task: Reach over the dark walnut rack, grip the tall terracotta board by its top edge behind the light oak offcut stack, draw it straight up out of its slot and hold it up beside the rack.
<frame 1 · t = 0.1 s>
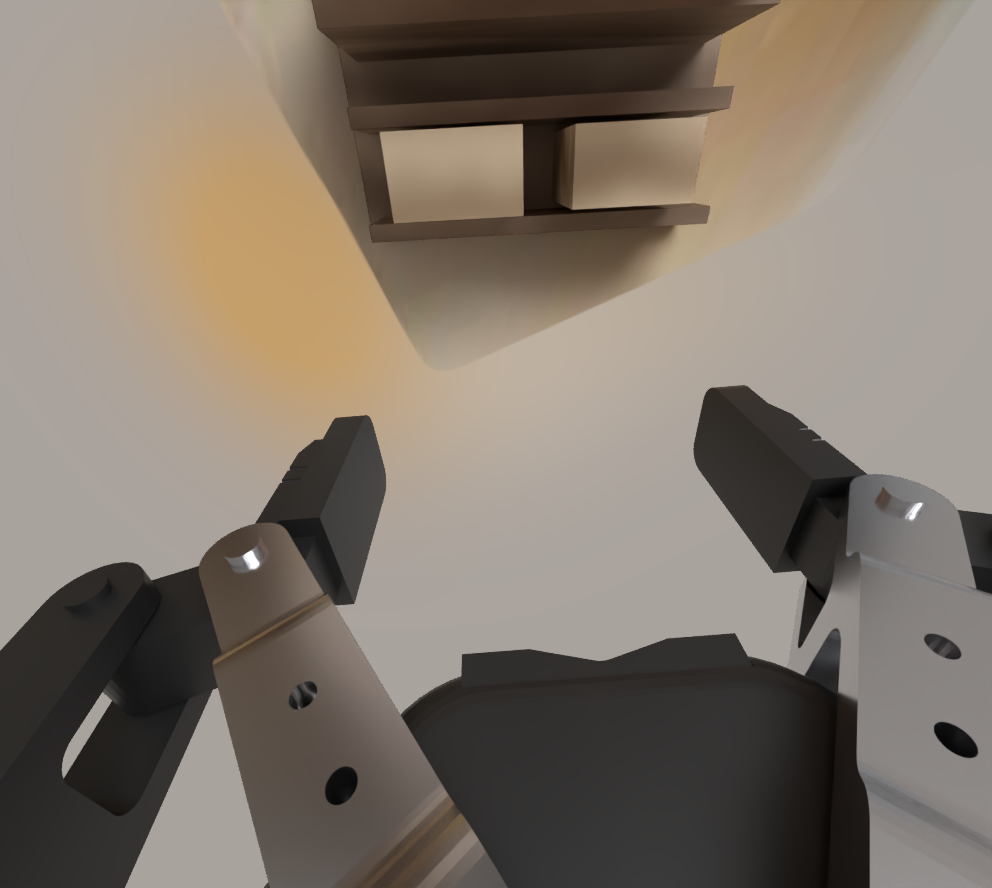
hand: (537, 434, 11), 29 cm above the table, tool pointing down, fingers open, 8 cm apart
offcut stack: (531, 169, 31), point 2 cm above the table, touching walnut rack
walnut rack: (528, 91, 30), on the table
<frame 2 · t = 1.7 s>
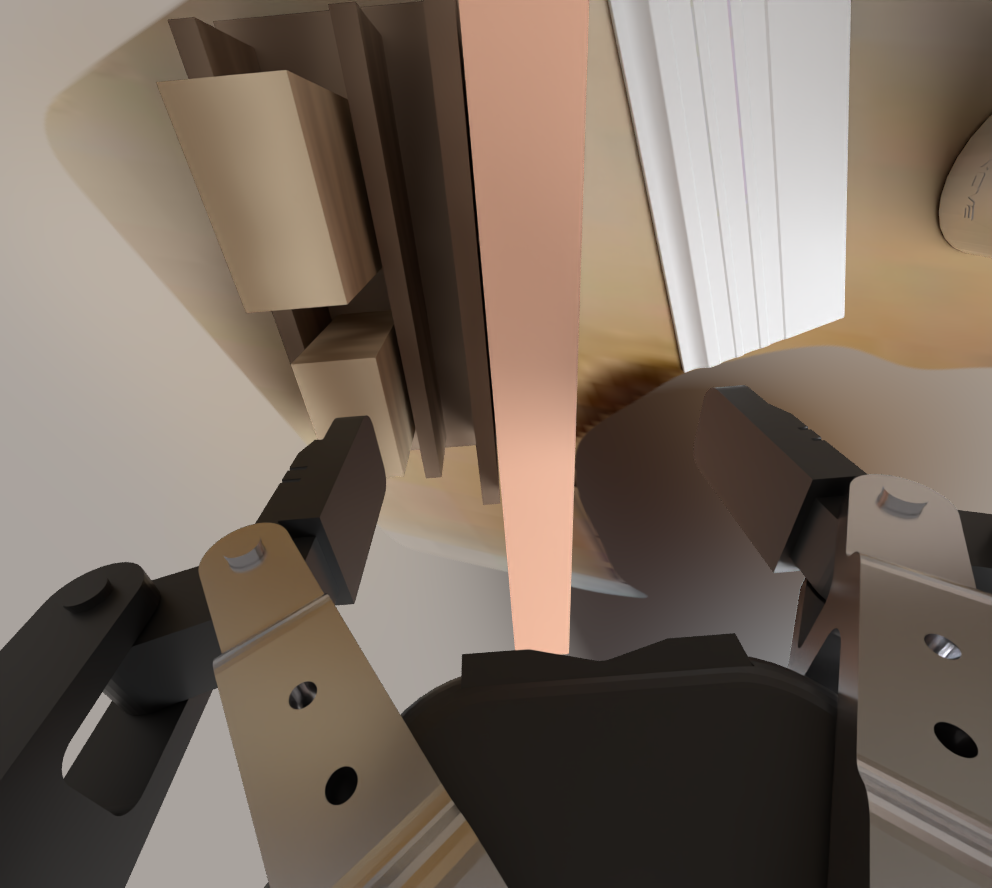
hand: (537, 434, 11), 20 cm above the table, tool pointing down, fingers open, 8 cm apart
offcut stack: (364, 286, 26), point 2 cm above the table, touching walnut rack
terracotta board: (504, 275, 26), point 2 cm above the table, touching walnut rack
baseboard molding: (711, 94, 24), on the table
walnut rack: (440, 273, 28), on the table
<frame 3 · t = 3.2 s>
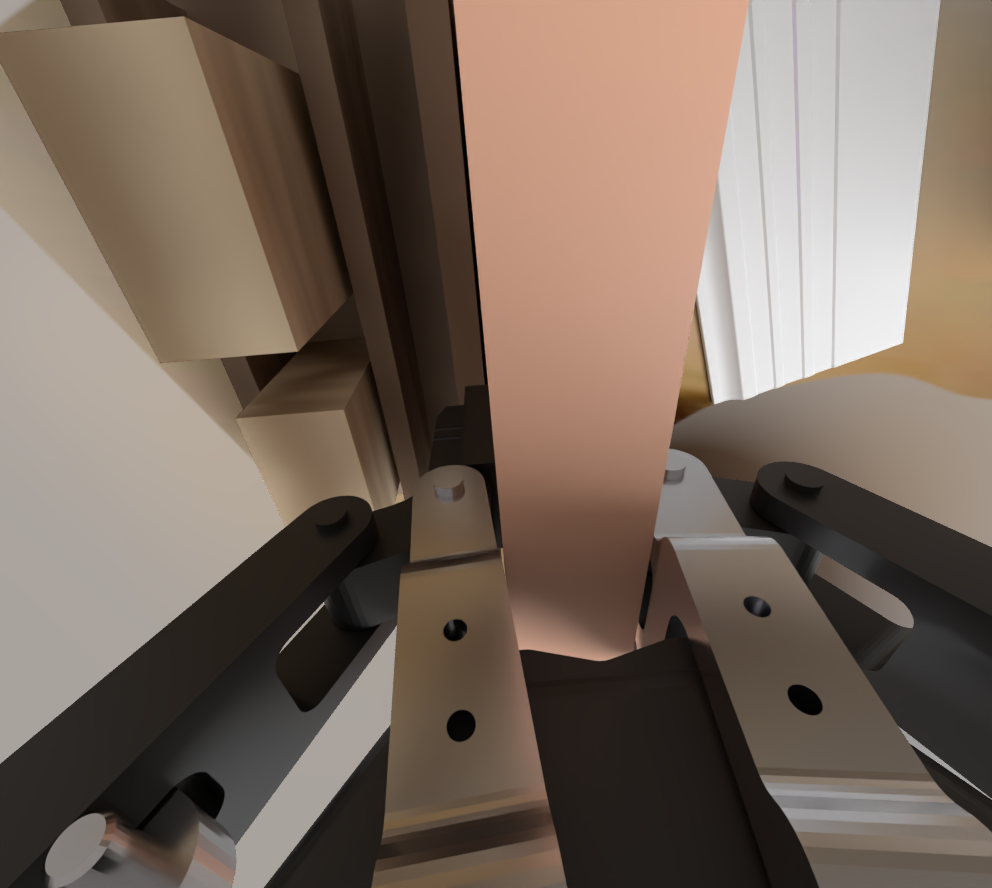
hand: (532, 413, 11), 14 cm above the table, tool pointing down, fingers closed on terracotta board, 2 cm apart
offcut stack: (337, 310, 22), point 2 cm above the table, touching walnut rack
terracotta board: (506, 296, 22), point 2 cm above the table, touching gripper, walnut rack
baseboard molding: (760, 77, 19), on the table
walnut rack: (430, 292, 23), on the table
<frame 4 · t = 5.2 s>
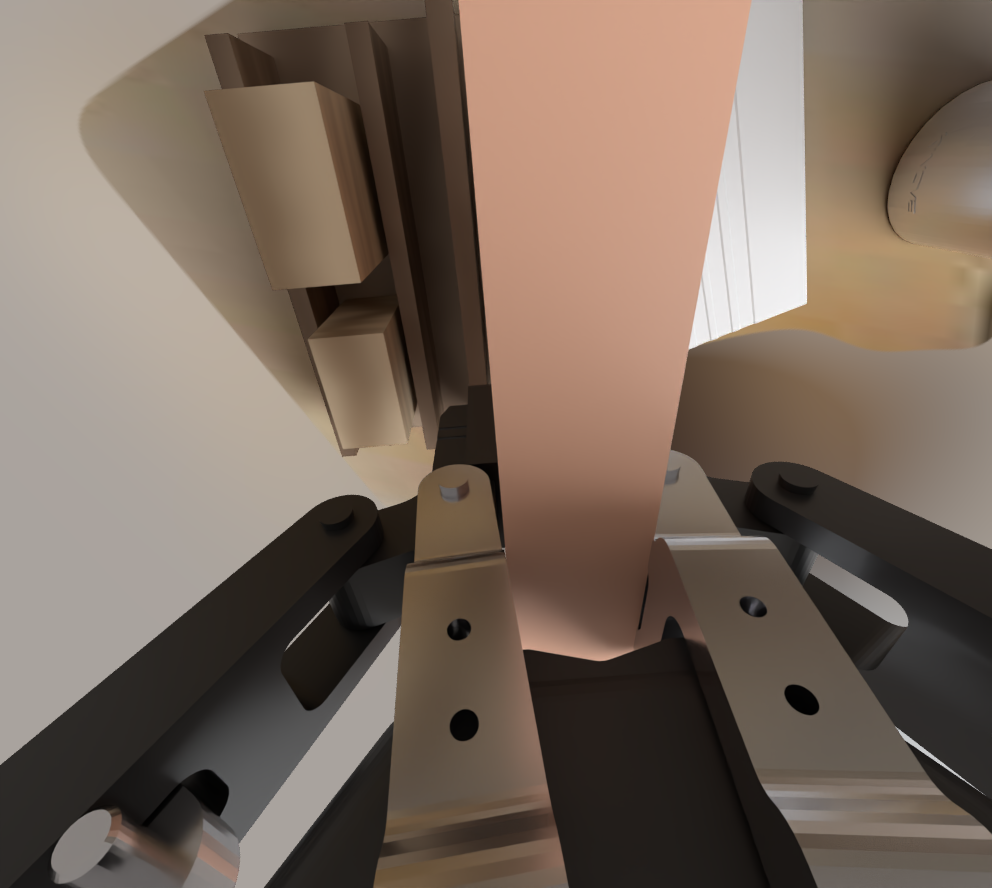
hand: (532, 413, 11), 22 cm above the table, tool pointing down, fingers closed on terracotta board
offcut stack: (369, 273, 29), point 2 cm above the table, touching walnut rack
terracotta board: (507, 295, 22), point 10 cm above the table, touching gripper
baseboard molding: (684, 100, 27), on the table
walnut rack: (439, 262, 30), on the table
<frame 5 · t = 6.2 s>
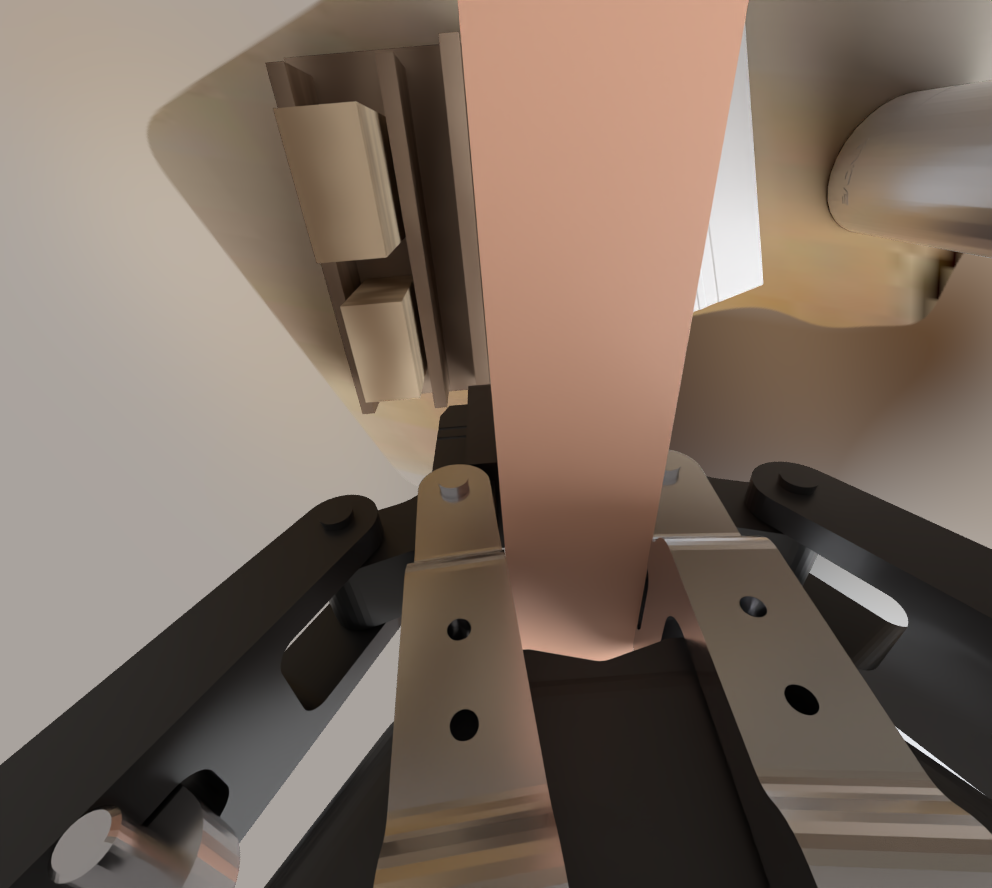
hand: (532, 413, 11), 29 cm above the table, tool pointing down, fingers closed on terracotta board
offcut stack: (387, 256, 34), point 2 cm above the table, touching walnut rack
terracotta board: (507, 295, 22), point 16 cm above the table, touching gripper
baseboard molding: (652, 110, 32), on the table
walnut rack: (445, 247, 35), on the table
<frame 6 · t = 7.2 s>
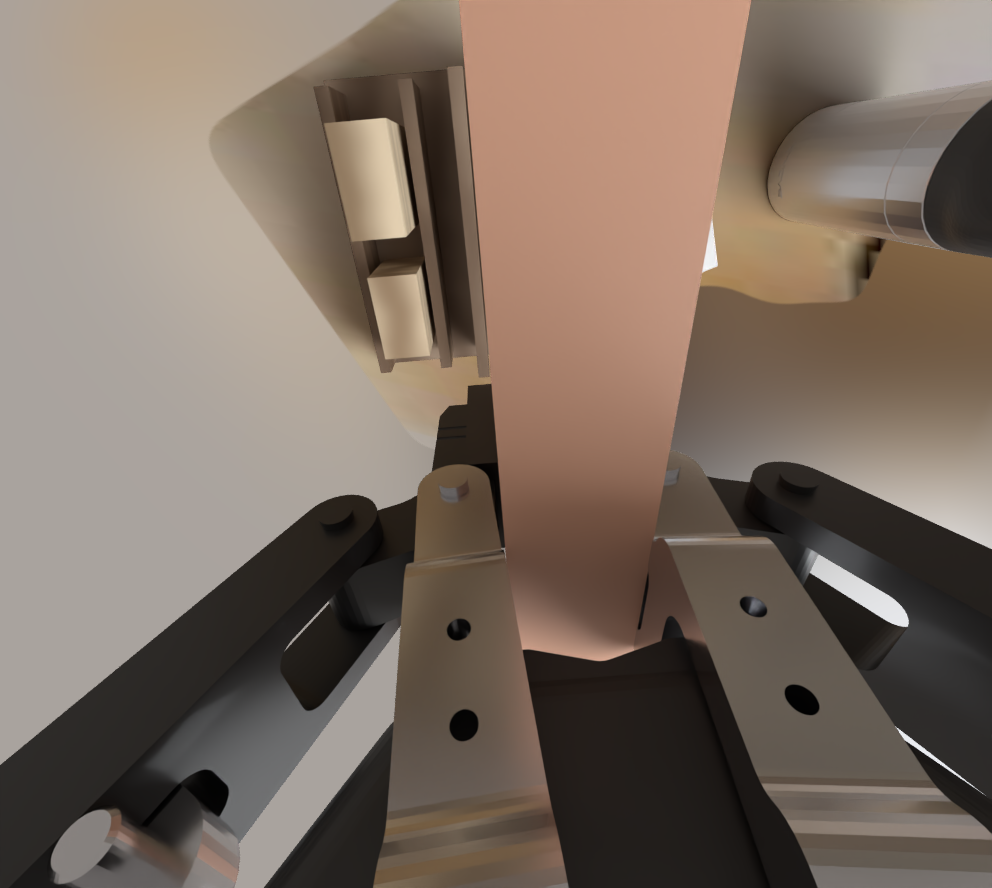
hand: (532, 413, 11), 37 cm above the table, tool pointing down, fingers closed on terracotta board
offcut stack: (402, 241, 41), point 2 cm above the table, touching walnut rack
terracotta board: (507, 295, 22), point 25 cm above the table, touching gripper
baseboard molding: (620, 121, 39), on the table
walnut rack: (450, 234, 42), on the table
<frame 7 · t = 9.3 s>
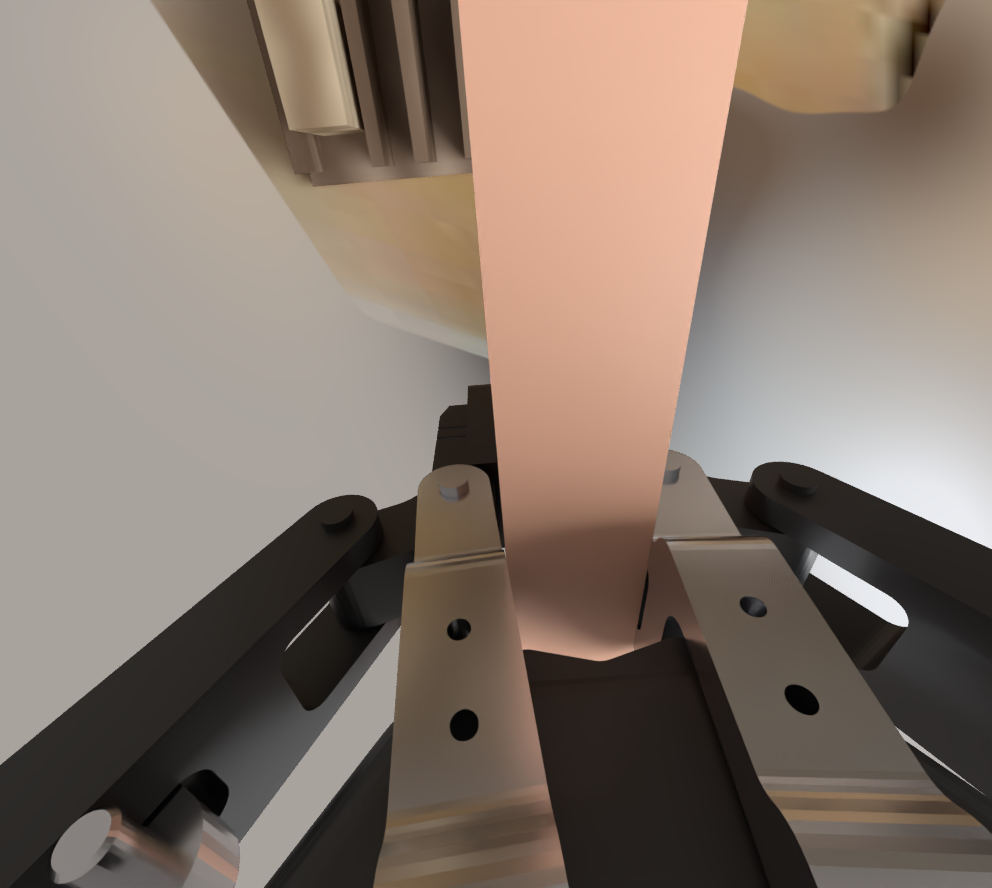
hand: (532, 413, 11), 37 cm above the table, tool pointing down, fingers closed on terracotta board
terracotta board: (507, 296, 22), point 25 cm above the table, touching gripper
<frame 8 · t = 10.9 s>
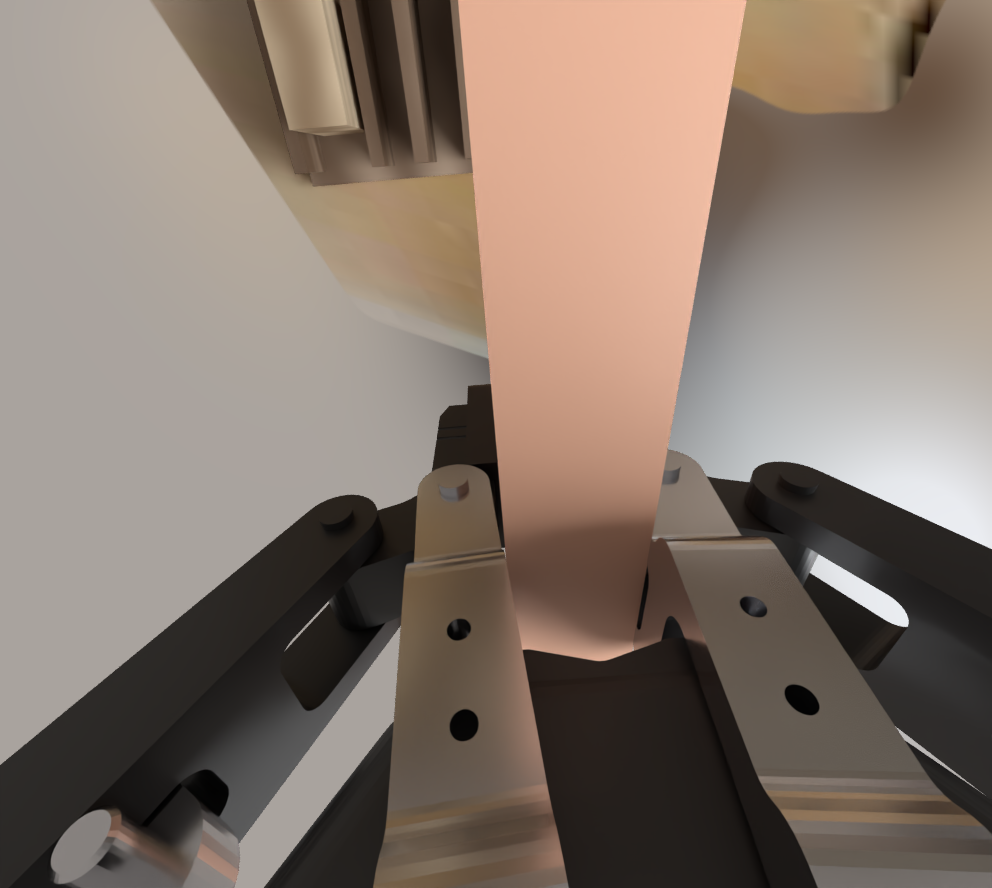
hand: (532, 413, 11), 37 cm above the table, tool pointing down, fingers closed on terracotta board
terracotta board: (507, 296, 22), point 25 cm above the table, touching gripper
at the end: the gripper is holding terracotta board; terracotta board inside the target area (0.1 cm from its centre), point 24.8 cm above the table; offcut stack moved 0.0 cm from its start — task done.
